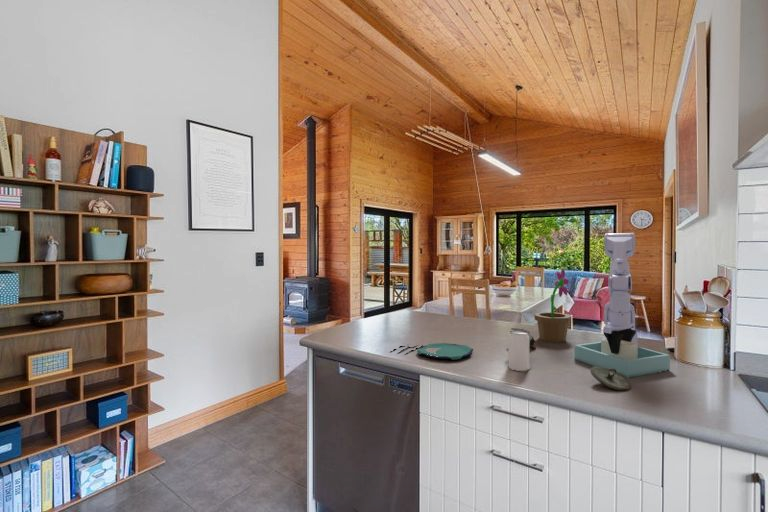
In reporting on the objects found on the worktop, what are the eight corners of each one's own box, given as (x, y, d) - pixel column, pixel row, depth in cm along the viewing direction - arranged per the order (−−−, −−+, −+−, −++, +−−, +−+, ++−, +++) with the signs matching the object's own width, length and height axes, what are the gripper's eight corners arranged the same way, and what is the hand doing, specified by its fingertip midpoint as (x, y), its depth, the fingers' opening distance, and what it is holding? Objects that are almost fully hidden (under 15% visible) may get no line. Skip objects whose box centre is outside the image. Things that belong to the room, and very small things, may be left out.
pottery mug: (538, 353, 144) (527, 334, 144) (514, 361, 149) (504, 343, 148) (538, 337, 155) (528, 320, 154) (517, 345, 159) (506, 328, 159)
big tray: (613, 353, 140) (613, 340, 140) (669, 370, 121) (669, 355, 121) (574, 359, 134) (574, 345, 134) (626, 378, 115) (626, 361, 115)
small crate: (609, 352, 133) (609, 337, 133) (637, 358, 125) (637, 343, 125) (601, 354, 130) (601, 339, 130) (628, 361, 122) (628, 345, 122)
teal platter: (460, 365, 130) (460, 359, 130) (386, 354, 146) (385, 348, 146) (480, 351, 147) (479, 345, 147) (411, 343, 163) (410, 337, 163)
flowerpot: (577, 343, 155) (577, 269, 154) (542, 343, 155) (542, 269, 154) (561, 334, 169) (561, 266, 168) (529, 335, 169) (528, 267, 168)
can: (519, 373, 121) (519, 335, 121) (504, 367, 127) (503, 331, 127) (533, 369, 124) (533, 332, 124) (518, 364, 130) (518, 329, 130)
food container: (535, 366, 128) (535, 336, 128) (515, 365, 129) (515, 335, 129) (528, 355, 140) (528, 328, 140) (511, 354, 141) (511, 327, 141)
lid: (602, 376, 117) (602, 360, 117) (637, 386, 109) (637, 368, 109) (583, 383, 111) (583, 366, 111) (619, 394, 103) (619, 376, 103)
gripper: (620, 307, 134) (620, 346, 134) (594, 311, 127) (594, 352, 127) (641, 310, 128) (641, 350, 128) (616, 315, 121) (616, 357, 121)
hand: (619, 352), depth 127 cm, fingers closed on small crate, 5 cm apart
